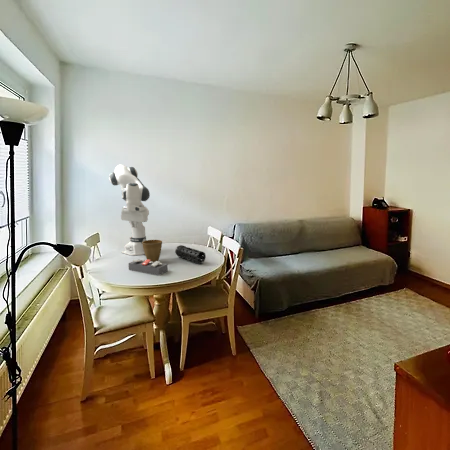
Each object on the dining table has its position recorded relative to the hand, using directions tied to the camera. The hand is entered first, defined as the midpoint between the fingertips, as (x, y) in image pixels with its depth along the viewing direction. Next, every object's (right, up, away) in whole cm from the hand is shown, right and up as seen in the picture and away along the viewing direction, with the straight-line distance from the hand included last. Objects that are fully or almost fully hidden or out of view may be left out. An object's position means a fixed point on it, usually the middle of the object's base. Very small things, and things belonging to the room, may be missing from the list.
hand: (134, 227), depth 202 cm
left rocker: (-1, -24, +9) cm, 26 cm away
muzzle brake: (+34, -27, +31) cm, 53 cm away
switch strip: (+7, -30, +8) cm, 32 cm away
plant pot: (+6, -27, +28) cm, 39 cm away
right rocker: (+14, -26, +2) cm, 29 cm away
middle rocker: (+7, -25, +5) cm, 26 cm away
